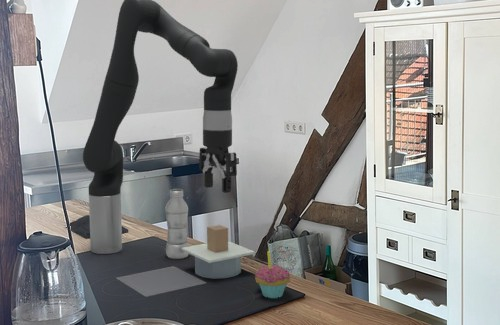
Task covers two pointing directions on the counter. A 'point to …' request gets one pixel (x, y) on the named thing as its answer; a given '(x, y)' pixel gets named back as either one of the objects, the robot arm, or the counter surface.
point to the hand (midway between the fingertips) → (217, 189)
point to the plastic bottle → (176, 225)
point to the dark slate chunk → (85, 227)
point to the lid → (217, 246)
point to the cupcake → (272, 279)
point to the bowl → (218, 268)
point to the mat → (160, 281)
